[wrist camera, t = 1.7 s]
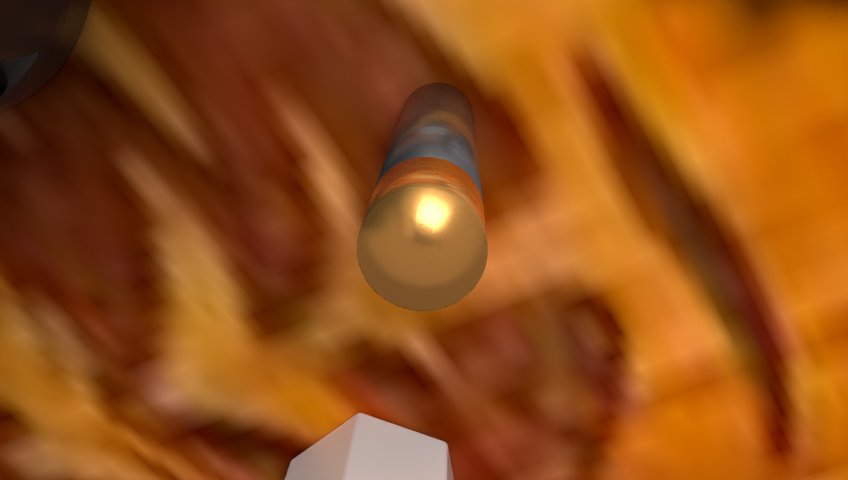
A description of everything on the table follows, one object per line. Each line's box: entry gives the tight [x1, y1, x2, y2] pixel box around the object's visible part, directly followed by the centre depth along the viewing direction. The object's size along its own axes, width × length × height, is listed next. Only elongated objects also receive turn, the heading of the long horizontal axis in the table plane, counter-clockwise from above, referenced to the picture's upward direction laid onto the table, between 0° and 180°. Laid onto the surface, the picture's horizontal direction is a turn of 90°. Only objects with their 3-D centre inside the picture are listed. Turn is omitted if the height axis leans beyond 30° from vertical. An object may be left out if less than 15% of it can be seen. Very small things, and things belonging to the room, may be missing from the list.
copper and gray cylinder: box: [357, 83, 487, 311], centre depth 26 cm, size 3×3×16 cm
